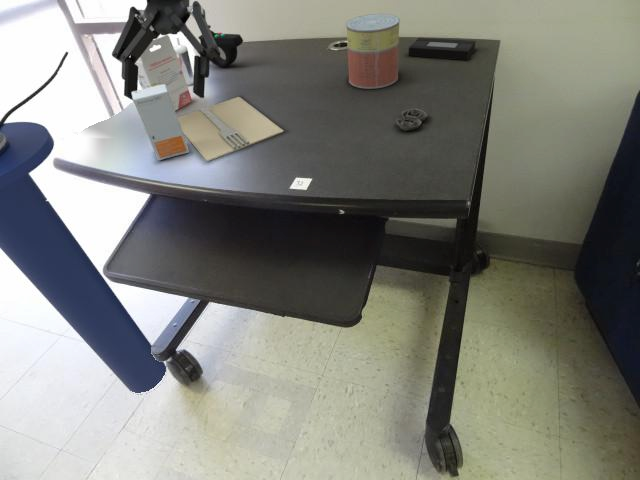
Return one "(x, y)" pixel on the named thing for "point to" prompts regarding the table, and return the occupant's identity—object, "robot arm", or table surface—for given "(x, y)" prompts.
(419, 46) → the vhs tape
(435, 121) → the table surface
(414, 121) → the corroded twin loop
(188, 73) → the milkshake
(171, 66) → the ink cartridge box
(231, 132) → the fork
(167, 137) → the cosmetic box
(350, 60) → the canned food
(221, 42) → the controller
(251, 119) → the placemat
